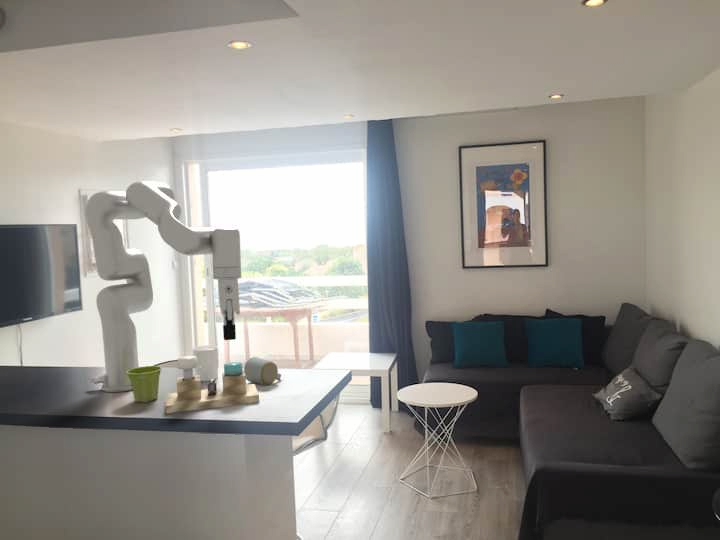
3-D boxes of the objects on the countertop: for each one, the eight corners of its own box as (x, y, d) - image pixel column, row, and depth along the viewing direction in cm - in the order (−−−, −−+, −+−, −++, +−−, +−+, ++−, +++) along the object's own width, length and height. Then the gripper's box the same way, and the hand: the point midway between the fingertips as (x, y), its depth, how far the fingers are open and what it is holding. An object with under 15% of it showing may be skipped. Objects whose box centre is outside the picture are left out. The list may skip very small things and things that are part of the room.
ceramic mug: (262, 387, 171) (261, 362, 170) (243, 384, 176) (242, 359, 175) (287, 380, 179) (286, 355, 179) (268, 376, 184) (268, 353, 184)
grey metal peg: (208, 396, 158) (207, 381, 157) (207, 393, 160) (206, 379, 160) (217, 394, 158) (216, 380, 158) (216, 392, 161) (215, 378, 160)
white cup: (216, 381, 181) (214, 349, 180) (191, 382, 181) (189, 350, 180) (222, 375, 189) (220, 344, 188) (198, 376, 189) (196, 345, 188)
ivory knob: (179, 388, 154) (177, 360, 154) (179, 383, 159) (177, 356, 158) (198, 386, 155) (196, 358, 155) (198, 381, 160) (196, 355, 160)
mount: (166, 413, 150) (164, 387, 150) (168, 400, 162) (166, 376, 161) (259, 402, 157) (257, 376, 156) (254, 390, 168) (253, 366, 168)
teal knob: (225, 394, 158) (224, 367, 157) (224, 389, 162) (223, 363, 162) (244, 391, 159) (242, 365, 158) (243, 387, 164) (241, 361, 163)
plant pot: (128, 398, 166) (125, 368, 166) (162, 393, 170) (160, 364, 169) (129, 406, 158) (126, 375, 157) (165, 401, 162) (163, 370, 161)
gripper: (243, 274, 152) (245, 343, 154) (239, 270, 167) (241, 333, 168) (213, 276, 150) (216, 345, 152) (212, 271, 164) (214, 335, 166)
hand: (229, 339), depth 160 cm, fingers closed
